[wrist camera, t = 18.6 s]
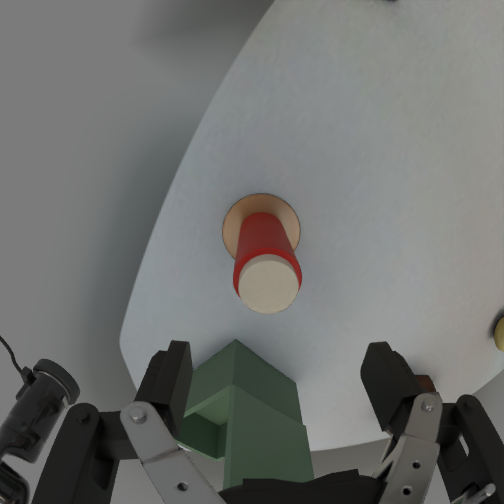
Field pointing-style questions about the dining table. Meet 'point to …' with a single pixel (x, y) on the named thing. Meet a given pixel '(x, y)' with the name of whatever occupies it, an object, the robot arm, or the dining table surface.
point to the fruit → (499, 334)
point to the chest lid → (263, 443)
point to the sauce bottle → (265, 265)
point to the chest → (218, 392)
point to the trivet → (256, 205)
